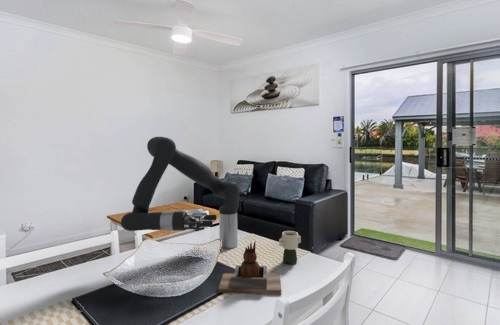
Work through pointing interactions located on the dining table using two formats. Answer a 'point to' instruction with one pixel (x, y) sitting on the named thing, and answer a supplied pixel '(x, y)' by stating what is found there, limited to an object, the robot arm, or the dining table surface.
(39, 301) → the dining table surface
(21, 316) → the dining table surface
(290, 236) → the character mug
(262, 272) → the socket stand
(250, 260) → the wooden figurine
